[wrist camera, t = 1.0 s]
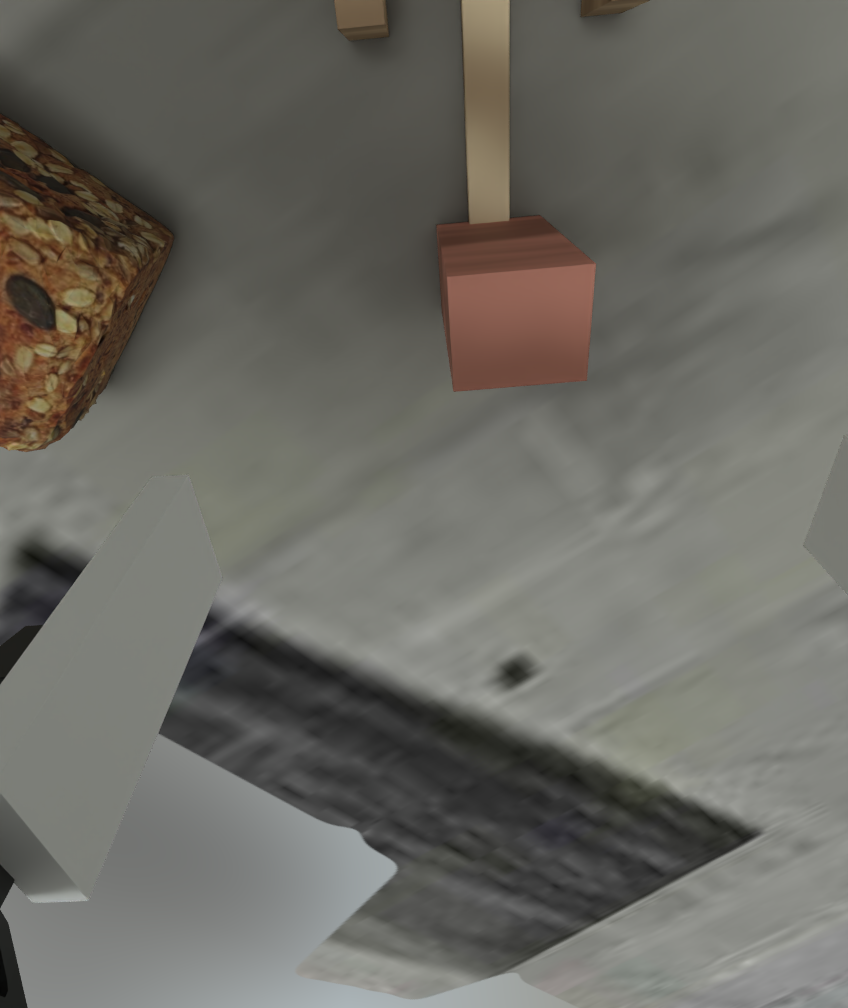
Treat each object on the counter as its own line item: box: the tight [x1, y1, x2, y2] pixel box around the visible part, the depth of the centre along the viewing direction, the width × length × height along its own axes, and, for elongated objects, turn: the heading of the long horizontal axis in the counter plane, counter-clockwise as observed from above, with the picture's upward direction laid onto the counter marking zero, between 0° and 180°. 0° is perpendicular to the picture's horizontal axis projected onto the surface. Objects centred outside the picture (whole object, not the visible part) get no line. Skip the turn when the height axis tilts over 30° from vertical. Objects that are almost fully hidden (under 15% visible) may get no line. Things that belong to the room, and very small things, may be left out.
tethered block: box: [436, 0, 596, 392], centre depth 20 cm, size 21×6×10 cm, turn 5°
